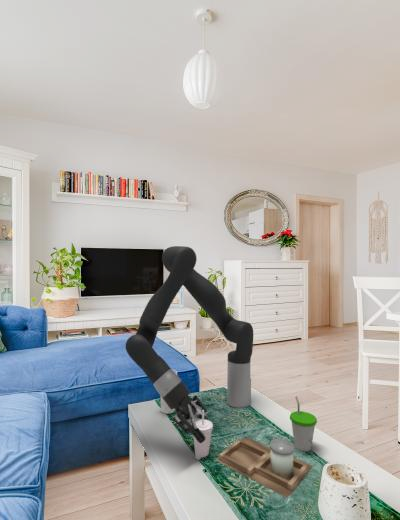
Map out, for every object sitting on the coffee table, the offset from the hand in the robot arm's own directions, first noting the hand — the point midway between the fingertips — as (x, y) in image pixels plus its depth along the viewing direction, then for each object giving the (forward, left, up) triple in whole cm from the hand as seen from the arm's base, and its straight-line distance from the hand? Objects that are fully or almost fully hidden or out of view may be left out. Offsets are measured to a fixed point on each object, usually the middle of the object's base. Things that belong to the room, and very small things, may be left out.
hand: (207, 434), depth 95 cm
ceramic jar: (-7, +20, -6) cm, 22 cm away
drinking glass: (-12, -30, -7) cm, 33 cm away
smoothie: (+1, -2, -7) cm, 7 cm away
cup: (-22, +19, -7) cm, 31 cm away
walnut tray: (-7, +14, -7) cm, 18 cm away
